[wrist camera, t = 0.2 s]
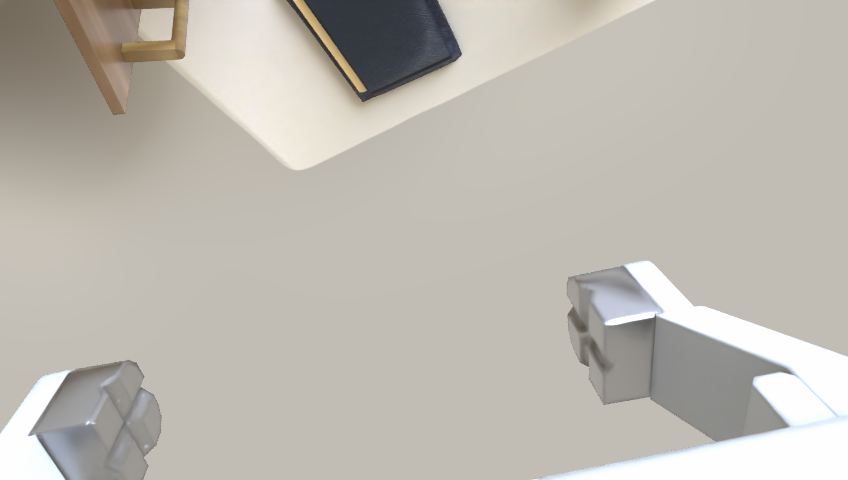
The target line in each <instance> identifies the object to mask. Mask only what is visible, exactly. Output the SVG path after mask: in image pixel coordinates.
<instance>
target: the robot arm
mask: <svg viewBox="0 0 848 480" xmlns="http://www.w3.org/2000/svg"><path fill="white" fill-rule="evenodd" d="M567 296H568V298H569V299H570V301H571V303H572V304H573V308H572V309H571V310H570V312H569V313H568V329H569V334H570V339H571V343H572V346H573V349H574V351H575V353H576V356H577V357H578V359H579V361H580V362H581V363H582V364H584V365H586V366H588V367H589V380H590V381H591V383H592V385H593V387H594V389H595V390H596V392H597V394H598V396H599V397H600V399H601V401H602V403H603V405H605V404H611V403H617V402H623V401H629V400H634V399H640V398H646V397H650V399H651V400H653V401H654V402H656V403H657V404H659V405H661V406H662V407H663V408H665V409H667V410H668V411H670V412H671V413H673V414H674V415H676V416H678V417H679V418H681V419H682V420H683V421H685V422H687V423H688V424H690V425H691V426H693V427H694V428H696V429H697V430H699V431H701V432H702V433H704V434H705V435H707V436H708V437H710V438H711V439H713V440H714V441H716V442H713V443H708V444H703V445H698V446H693V447H688V448H684V449H679V450H674V451H669V452H664V453H659V454H654V455H649V456H645V457H640V458H635V459H630V460H626V461H621V462H616V463H611V464H607V465H601V466H596V467H591V468H587V469H581V470H576V471H571V472H566V473H561V474H556V475H551V476H547V477H541V478H537V479H531V480H848V357H846V356H843V355H841V354H838V353H835V352H832V351H829V350H826V349H824V348H821V347H818V346H815V345H812V344H809V343H807V342H804V341H801V340H798V339H795V338H792V337H790V336H787V335H783V334H781V333H778V332H775V331H773V330H769V329H767V328H764V327H761V326H758V325H756V324H753V323H750V322H747V321H744V320H741V319H738V318H736V317H733V316H730V315H727V314H724V313H722V312H719V311H716V310H713V309H710V308H707V307H705V306H698V307H694V306H693V305H692V304H691V303H690V302H689V301H688V300H687V299H686V298H685V297H684V296H683V295H682V294H681V293H680V292H679V291H678V290H677V289H676V288H675V287H674V285H673V284H672V283H671V282H670V281H669V280H668V279H667V278H666V277H665V276H664V275H663V274H662V273H661V272H660V271H659V270H658V269H657V268H656V267H655V266H654V265H653V264H652V262H650V261H647V260H644V261H640V262H635V263H631V264H626V265H622V266H620V267H615V268H611V269H605V270H601V271H595V272H591V273H586V274H581V275H576V276H571V277H568V282H567ZM143 379H144V375H143V373H142V372H141V370H140V368H139V366H138V365H137V363H135V362H133V361H130V360H126V361H120V362H114V363H108V364H102V365H97V366H91V367H86V368H79V369H75V370H68V371H63V372H57V373H52V374H48V375H46V376H44V377H41V378H40V379H39V380H38V382H37V383H36V384H35V386H34V387H33V389H32V390H31V391H30V393H29V394H28V396H27V397H26V398H25V400H24V401H23V403H22V404H21V405H20V407H19V408H18V410H17V411H16V413H15V414H14V415H13V417H12V418H11V420H10V421H9V422H8V424H7V425H6V427H5V428H4V429H3V431H2V432H1V434H0V480H143V479H144V476H145V473H146V471H147V468H148V464H147V462H146V460H145V459H144V456H145V455H146V454H148V453H149V451H151V450H152V449H153V448H154V447H155V446H156V444H157V441H158V439H159V435H160V433H161V413H160V409H159V404H158V402H157V400H156V398H155V396H154V395H153V394H152V393H150V392H148V391H147V390H145V389H143V388H141V384H142V381H143Z"/></svg>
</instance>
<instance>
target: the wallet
mask: <svg viewBox="0 0 848 480" xmlns="http://www.w3.org/2000/svg"><path fill="white" fill-rule="evenodd" d="M287 1H288V2H289V4H290V5H291V6H292V7H293V9H294V10H295V11H296V12H297V14H298V15H299V16H300V17H301V19H302V20H303V21H304V23H305V24H306V26H307V27H308V28H309V30H310V31H311V32H312V34H313V35H314V36H315V38H316V39H317V41H318V42H319V43H320V45H321V46H322V47H323V49H324V50H325V51H326V53H327V54H328V55H329V57H330V58H331V60H332V61H333V62H334V64H335V65H336V66H337V68H338V69H339V70H340V72H341V73H342V74H343V76H344V77H345V79H346V80H347V81H348V83H349V84H350V85H351V87H352V88H353V89H354V91H355V92H356V94H357V95H358V96H359V98H360V99H361V100H362V102H364V101H367V100H369V99H371V98H373V97H376V96H378V95H381V94H384V93H386V92H388V91H391V90H393V89H395V88H397V87H399V86H402V85H404V84H406V83H408V82H411V81H413V80H415V79H417V78H419V77H422V76H424V75H426V74H428V73H431V72H433V71H435V70H437V69H439V68H442V67H444V66H446V65H448V64H450V63H452V62H454V61H456V60H457V59H458V58H459V57H460V56H461V55H462V53H461V51H460V48H459V46H458V43H457V41H456V38H455V36H454V34H453V32H452V30H451V28H450V26H449V24H448V22H447V19H446V17H445V15H444V13H443V11H442V9H441V7H440V5H439V3H438V1H437V0H287Z"/></svg>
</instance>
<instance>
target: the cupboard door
mask: <svg viewBox="0 0 848 480" xmlns="http://www.w3.org/2000/svg"><path fill="white" fill-rule="evenodd" d="M54 2H55V4H56V6H57V7H58V9H59V11H60V13H61V15H62V17H63V19H64V21H65V23H66V25H67V27H68V28H69V31H70V33H71V34H72V36H73V38H74V40H75V42H76V44H77V46H78V48H79V50H80V52H81V54H82V56H83V58H84V59H85V61H86V63H87V65H88V67H89V69H90V71H91V73H92V75H93V77H94V78H95V80H96V82H97V84H98V86H99V88H100V90H101V92H102V94H103V96H104V98H105V100H106V102H107V104H108V105H109V107H110V109H111V111H112V113H113V114H114V115H116V114H125V113H126V107H127V100H128V93H129V86H130V80H131V74H132V67H133V62H142V61H160V60H178V59H182V58H184V56H185V47H186V34H187V21H188V8H189V0H54ZM152 8H174V18H173V28H172V38H171V40H169V41H150V42H136V41H137V34H138V28H139V21H140V14H141V9H152Z"/></svg>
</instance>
